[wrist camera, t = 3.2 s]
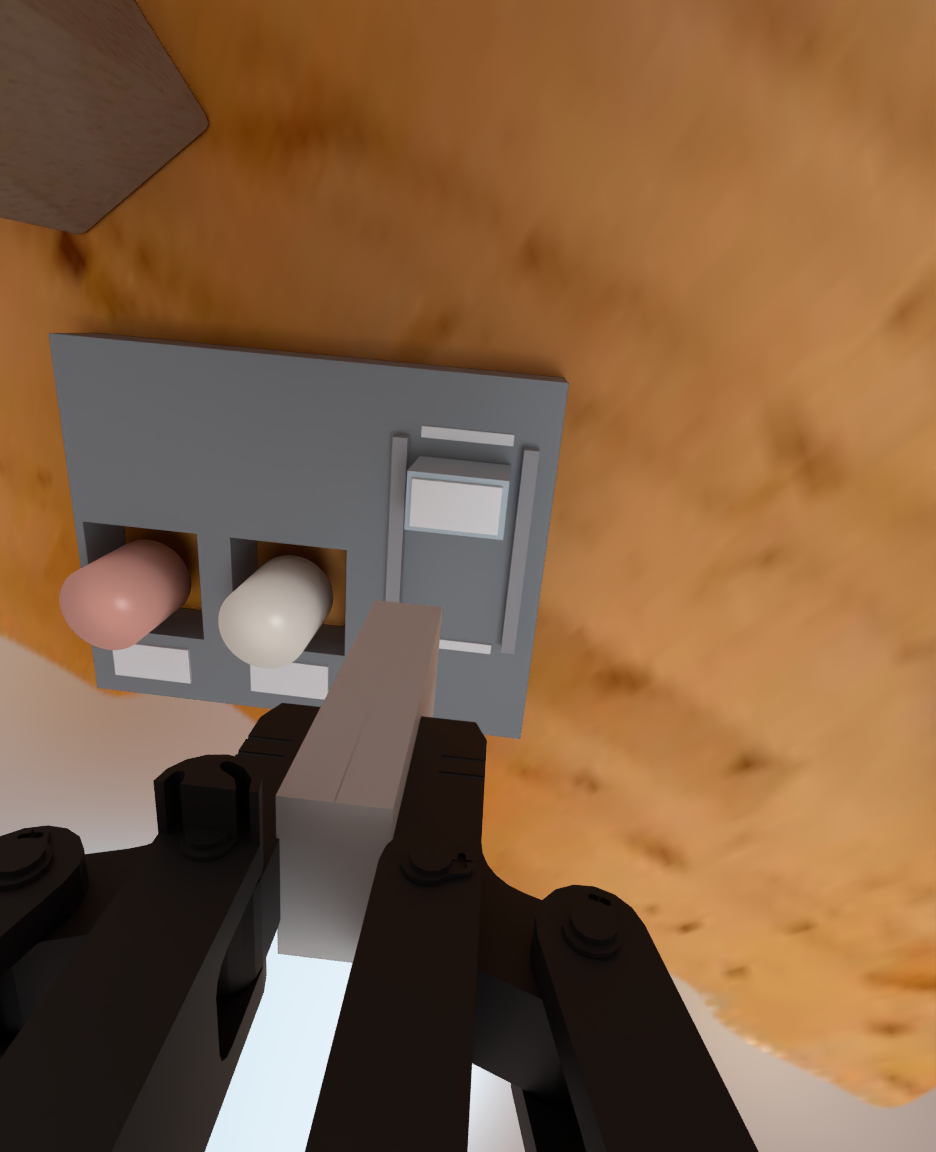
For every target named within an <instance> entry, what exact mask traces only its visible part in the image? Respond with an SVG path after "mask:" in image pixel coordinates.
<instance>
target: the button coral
mask: <svg viewBox="0 0 936 1152" xmlns="http://www.w3.org/2000/svg"><path fill="white" fill-rule="evenodd" d="M190 590H191V579H190V574H189V571H188V569H187V567H186V565H185V563H184V562H183V560H182V559H181V557H180V556H179V555H178V554H177V553H176V552H175V551H173V550H172V549H171V548H169V547H168V546H166V545H164V544H162V543H160V542H157V541H154V540H147V539H141V540H135V541H132V542H129V543H127V544H125V545H124V546H122V547H120V548H118V549H116V550H114V551H112V552H111V553H109V554H107V555H105V556H103V557H101V558H99V559H98V560H96V561H94V562H92V563H90V564H88V565H86V566H84V567H83V568H81V569H79V570H77V571H75V572H74V573H72V574H71V575H70V576H68V578H67V579H66V580H65V581H64V583H63V585H62V587H61V591H60V599H59V600H60V607H61V611H62V614H63V616H64V618H65V620H66V622H67V624H68V625H69V627H70V628H71V629H72V630H73V631H74V632H75V633H76V634H77V635H78V636H79V637H80V638H81V639H83V640H84V641H86V642H87V643H89V644H91V645H93V646H96V647H98V648H102V649H106V650H121V649H126V648H128V647H131V646H133V645H134V644H136V643H137V642H138V641H139V640H141V639H142V638H143V637H144V636H146V635H147V634H148V633H149V632H151V631H152V630H153V629H154V628H156V627H157V626H158V625H159V624H161V623H162V622H163V621H164V620H165V619H167V618H168V617H169V616H170V615H172V614H173V613H174V612H175V611H177V610H178V609H179V608H180V607H182V606H183V605H184V603H185V602H186V601H187V599H188V597H189V594H190Z"/></svg>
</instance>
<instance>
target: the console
mask: <svg viewBox="0 0 936 1152" xmlns="http://www.w3.org/2000/svg"><path fill="white" fill-rule="evenodd" d="M49 340H50V347H51V354H52V361H53V369H54V376H55V383H56V390H57V398H58V405H59V412H60V419H61V427H62V434H63V441H64V448H65V456H66V463H67V470H68V478H69V485H70V492H71V499H72V507H73V514H74V521H75V528H76V536H77V543H78V550H79V557H80V565H81V568H83V567H84V566H86V565H88V564H90V563H92V562H94V561H96V560H98V559H99V558H101V557H103V556H105V555H107V554H109V553H111V552H112V551H114V550H116V549H118V548H120V547H122V546H124V545H125V544H126V542H125V533H124V526H129V527H138V528H147V529H157V530H166V531H175V532H184V533H193V534H197V543H198V558H199V572H200V587H201V602H202V610H193V609H184V608H179V609H178V610H177V611H175V612H174V613H173V614H172V615H170V616H169V617H168V618H167V619H165V620H164V621H163V622H162V623H161V624H159V625H158V626H157V627H156V628H154V629H153V630H152V631H151V632H149V633H148V634H147V635H146V636H144V637H143V638H142V639H141V640H139V641H138V642H137V643H136V644H134V645H133V646H131V647H128V648H126V649H121V650H106V649H102V648H98V647H96V646H93V645H92V652H93V659H94V666H95V673H96V681H97V688H104V689H112V690H120V691H128V692H137V693H145V694H154V695H161V696H170V697H178V698H186V699H194V700H204V701H211V702H219V703H228V704H236V705H244V706H252V707H261V708H269V709H273V708H275V707H276V706H278V705H279V704H281V703H290V704H299V705H308V706H317V707H321V706H322V704H323V702H324V700H325V698H326V696H327V694H328V692H329V690H330V688H331V686H332V684H333V682H334V680H335V678H336V676H337V674H338V672H339V670H340V668H341V666H342V664H343V662H344V660H345V659H346V657H347V655H348V653H349V651H350V649H351V647H352V645H353V643H354V641H355V639H356V637H357V635H358V633H359V631H360V629H361V627H362V625H363V623H364V621H365V619H366V617H367V615H368V613H369V611H370V609H371V607H372V605H373V603H374V601H375V600H379V601H388V602H398V603H407V604H416V605H426V606H435V607H442V618H441V630H440V642H439V654H438V666H437V678H436V689H435V701H434V713H433V718H442V719H451V720H460V721H469V722H476V723H477V725H478V726H479V728H480V730H481V731H482V733H483V734H484V735H492V736H500V737H508V738H517V739H520V737H521V730H522V722H523V715H524V708H525V700H526V693H527V686H528V678H529V671H530V664H531V656H532V649H533V642H534V634H535V627H536V620H537V612H538V605H539V598H540V590H541V583H542V576H543V569H544V561H545V554H546V547H547V539H548V532H549V525H550V517H551V510H552V503H553V495H554V488H555V481H556V473H557V466H558V459H559V451H560V444H561V437H562V429H563V422H564V415H565V407H566V400H567V393H568V386H569V383H568V381H567V380H566V379H565V378H562V377H551V376H541V375H530V374H520V373H509V372H499V371H488V370H478V369H467V368H457V367H446V366H436V365H425V364H415V363H404V362H394V361H383V360H373V359H362V358H352V357H341V356H331V355H321V354H310V353H300V352H289V351H279V350H268V349H258V348H247V347H237V346H226V345H216V344H205V343H195V342H184V341H174V340H163V339H153V338H142V337H132V336H121V335H111V334H100V333H49ZM419 456H425V457H435V458H445V459H455V460H465V461H475V462H484V463H494V464H504V465H511V472H510V482H509V491H508V500H507V509H506V518H505V527H504V536H503V540H497V539H487V538H478V537H469V536H459V535H450V534H441V533H431V532H422V531H413V530H404V525H405V506H406V487H407V471H408V469H409V468H410V467H411V466H412V465H413V463H414V462H415V461H416V460H417V459H418V457H419ZM257 541H267V542H276V543H285V544H294V545H303V546H312V547H322V548H331V549H340V550H347V565H346V615H345V627H341V626H332V625H324V624H322V625H321V626H320V627H319V629H318V630H317V632H316V633H315V635H314V636H313V638H312V639H311V640H310V642H309V643H308V645H307V646H306V648H305V649H304V651H303V652H302V653H301V655H300V656H299V657H298V658H297V659H296V660H295V661H293V662H292V663H290V664H288V665H286V666H283V667H280V668H272V669H268V668H260V667H256V666H253V665H250V664H248V663H246V662H244V661H242V660H241V659H239V658H238V657H237V656H235V655H234V654H233V653H232V652H231V651H230V650H229V648H228V647H227V646H226V644H225V642H224V641H223V639H222V636H221V634H220V630H219V625H218V617H219V611H220V608H221V606H222V604H223V602H224V601H225V599H226V598H227V597H228V596H229V595H230V594H231V593H232V592H233V591H235V590H236V589H237V588H238V587H239V586H240V585H241V584H242V583H244V582H245V581H246V580H247V579H248V578H249V577H250V576H251V575H252V574H254V573H255V572H256V571H257V570H258V562H257Z"/></svg>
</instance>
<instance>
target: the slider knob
mask: <svg viewBox="0 0 936 1152" xmlns="http://www.w3.org/2000/svg"><path fill="white" fill-rule="evenodd" d="M510 472H511V465H504V464H494V463H484V462H475V461H465V460H455V459H445V458H435V457H425V456H419V457H418V459H417V460H416V461H415V462H414V463H413V465H412V466H411V467H410V468H409V469H408V471H407V487H406V506H405V525H404V530H413V531H422V532H431V533H441V534H450V535H459V536H469V537H478V538H487V539H497V540H503V536H504V527H505V518H506V509H507V500H508V491H509V482H510Z"/></svg>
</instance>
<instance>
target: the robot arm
mask: <svg viewBox="0 0 936 1152" xmlns="http://www.w3.org/2000/svg"><path fill="white" fill-rule="evenodd" d="M441 618H442V607H435V606H426V605H416V604H407V603H398V602H388V601H379V600H375V601H374V603H373V605H372V607H371V609H370V611H369V613H368V615H367V617H366V619H365V621H364V623H363V625H362V627H361V629H360V631H359V633H358V635H357V637H356V639H355V641H354V643H353V645H352V647H351V649H350V651H349V653H348V655H347V657H346V659H345V660H344V662H343V664H342V666H341V668H340V670H339V672H338V674H337V676H336V678H335V680H334V682H333V684H332V686H331V688H330V690H329V692H328V694H327V696H326V698H325V700H324V702H323V704H322V706H321V707H317V706H308V705H299V704H290V703H281V704H279V705H278V706H276V707H275V708H273V709H272V710H270V711H269V712H267V713H266V714H264V715H263V716H261V717H260V719H259V720H258V722H257V723H256V725H255V726H254V728H253V729H252V731H251V733H250V734H249V737H248V739H246V740H245V742H244V743H243V745H242V746H241V748H240V749H239V753H238V755H237V754H236V755H235V756H231V755H204V756H200V757H196V758H191V759H187V760H184V761H182V762H180V763H178V764H176V765H174V766H172V767H170V768H168V769H166V770H165V771H164V772H163V773H162V774H161V775H160V776H159V777H157V778H156V779H155V780H154V790H155V801H156V812H157V823H158V835H157V837H156V838H155V839H154V841H153V842H152V843H151V844H148V845H145V846H140V847H135V848H130V849H123V850H116V851H108V852H100V853H92V854H85V853H84V848H83V845H82V842H81V839H80V837H79V836H78V835H76V834H75V833H73V832H71V831H70V830H69V829H67V828H61V827H54V826H40V827H32V828H24V829H21V830H18V831H15V832H12V833H9V834H6V835H3V836H0V1152H204V1151H205V1149H206V1146H207V1143H208V1141H209V1138H210V1136H211V1133H212V1130H213V1127H214V1125H215V1122H216V1119H217V1117H218V1114H219V1111H220V1109H221V1106H222V1103H223V1101H224V1098H225V1095H226V1092H227V1090H228V1087H229V1084H230V1082H231V1079H232V1076H233V1073H234V1071H235V1068H236V1065H237V1063H238V1060H239V1057H240V1054H241V1052H242V1049H243V1047H244V1044H245V1041H246V1039H247V1036H248V1033H249V1030H250V1028H251V1025H252V1022H253V1020H254V1017H255V1014H256V1011H257V1009H258V1006H259V1004H260V1001H261V998H262V995H263V993H264V987H265V981H266V956H267V953H268V951H269V948H270V946H271V943H272V941H273V938H274V936H275V933H276V930H277V928H278V954H285V955H294V956H303V957H310V958H319V959H327V960H335V961H344V962H351V963H353V964H352V968H351V972H350V976H349V980H348V984H347V987H346V991H345V995H344V1000H343V1003H342V1007H341V1011H340V1016H339V1019H338V1024H337V1027H336V1031H335V1035H334V1039H333V1043H332V1047H331V1051H330V1055H329V1059H328V1063H327V1067H326V1071H325V1075H324V1079H323V1083H322V1087H321V1090H320V1094H319V1098H318V1103H317V1106H316V1110H315V1114H314V1118H313V1122H312V1126H311V1130H310V1134H309V1138H308V1142H307V1146H306V1150H305V1152H467V1147H468V1127H469V1109H470V1090H471V1070H472V1063H473V1064H475V1065H477V1066H479V1067H481V1068H483V1069H485V1070H487V1071H489V1072H491V1073H493V1074H495V1075H496V1076H498V1077H500V1078H502V1079H504V1080H506V1081H508V1082H510V1083H511V1089H512V1094H513V1098H514V1103H515V1107H516V1112H517V1116H518V1120H519V1126H520V1130H521V1135H522V1139H523V1144H524V1148H525V1152H758V1150H757V1148H756V1146H755V1144H754V1142H753V1140H752V1138H751V1136H750V1134H749V1132H748V1130H747V1128H746V1126H745V1124H744V1122H743V1120H742V1118H741V1116H740V1114H739V1112H738V1110H737V1108H736V1106H735V1104H734V1102H733V1100H732V1098H731V1096H730V1094H729V1092H728V1090H727V1088H726V1086H725V1084H724V1082H723V1080H722V1078H721V1076H720V1074H719V1072H718V1070H717V1068H716V1066H715V1064H714V1062H713V1060H712V1058H711V1056H710V1054H709V1052H708V1050H707V1048H706V1046H705V1044H704V1042H703V1040H702V1038H701V1036H700V1034H699V1032H698V1030H697V1028H696V1026H695V1024H694V1022H693V1020H692V1018H691V1016H690V1014H689V1013H688V1010H687V1008H686V1006H685V1004H684V1002H683V1001H682V998H681V996H680V994H679V992H678V990H677V988H676V986H675V984H674V982H673V980H672V978H671V976H670V974H669V972H668V970H667V968H666V966H665V964H664V962H663V960H662V958H661V956H660V954H659V952H658V950H657V948H656V946H655V944H654V942H653V940H652V938H651V936H650V934H649V932H648V930H647V929H646V927H645V925H644V923H643V922H642V921H641V919H640V918H639V917H638V915H637V914H636V912H635V911H634V910H633V908H632V907H630V906H629V905H628V904H626V903H625V902H624V901H622V900H621V899H620V898H618V897H617V896H616V895H614V894H612V893H609V892H607V891H604V890H602V889H599V888H596V887H593V886H582V885H571V886H567V887H563V888H559V889H556V890H554V891H553V892H552V893H551V894H549V895H548V896H547V897H546V898H544V899H543V900H540V899H538V898H535V897H533V896H530V895H528V894H525V893H523V892H521V891H519V890H517V889H515V888H513V887H511V886H509V885H507V884H506V883H505V882H504V881H502V880H501V879H500V878H499V877H498V876H496V875H495V873H494V872H493V871H492V870H491V868H490V867H489V866H488V865H487V862H486V860H485V858H484V855H483V853H482V844H481V837H482V819H483V800H484V781H485V780H484V779H485V761H486V744H487V740H486V738H485V737H484V735H483V733H482V731H481V730H480V728H479V726H478V725H477V723H476V722H469V721H460V720H451V719H442V718H433V713H434V701H435V689H436V678H437V666H438V654H439V642H440V630H441Z"/></svg>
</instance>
